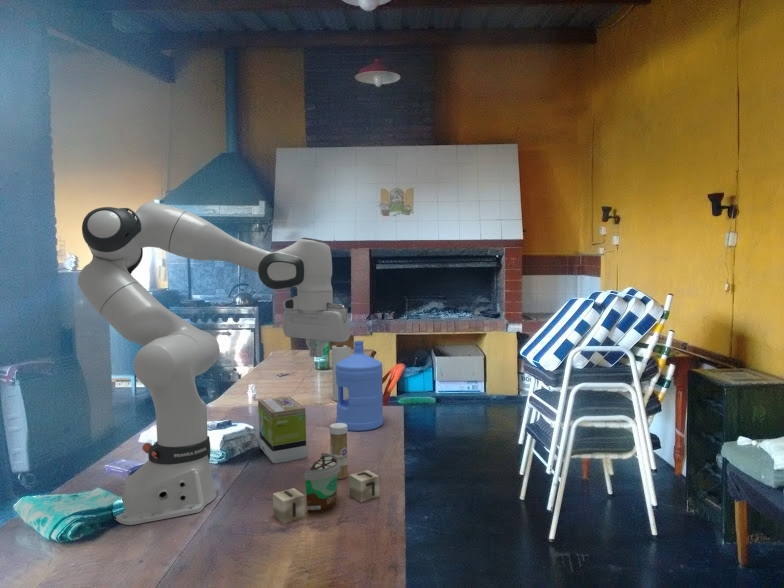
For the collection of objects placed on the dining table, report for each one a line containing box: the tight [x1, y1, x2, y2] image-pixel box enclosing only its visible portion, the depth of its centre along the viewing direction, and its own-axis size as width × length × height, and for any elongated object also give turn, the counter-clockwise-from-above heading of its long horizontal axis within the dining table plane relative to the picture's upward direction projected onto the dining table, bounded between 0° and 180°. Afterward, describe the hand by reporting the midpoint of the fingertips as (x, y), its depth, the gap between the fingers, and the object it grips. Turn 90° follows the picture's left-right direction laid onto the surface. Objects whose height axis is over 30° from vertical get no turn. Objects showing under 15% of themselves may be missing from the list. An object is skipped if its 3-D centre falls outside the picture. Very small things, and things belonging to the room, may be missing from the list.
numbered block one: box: [272, 487, 306, 525], centre depth 126 cm, size 5×5×5 cm
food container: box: [303, 452, 341, 514], centre depth 131 cm, size 12×6×10 cm, turn 168°
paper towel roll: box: [331, 344, 352, 402], centre depth 226 cm, size 7×6×21 cm
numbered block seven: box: [349, 469, 380, 503], centre depth 136 cm, size 5×5×5 cm
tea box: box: [257, 395, 308, 464], centre depth 166 cm, size 15×10×15 cm, turn 27°
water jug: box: [335, 340, 384, 432], centre depth 193 cm, size 16×16×28 cm
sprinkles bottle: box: [329, 422, 349, 480], centre depth 148 cm, size 5×5×14 cm
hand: (316, 356), depth 147 cm, fingers closed
